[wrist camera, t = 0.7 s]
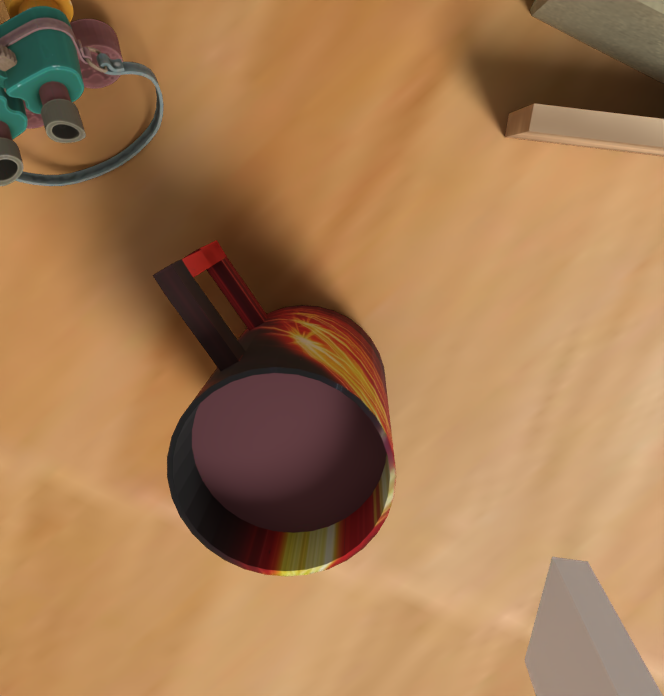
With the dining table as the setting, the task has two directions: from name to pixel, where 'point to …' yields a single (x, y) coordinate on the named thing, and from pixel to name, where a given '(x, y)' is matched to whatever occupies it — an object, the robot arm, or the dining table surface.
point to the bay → (587, 129)
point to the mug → (279, 430)
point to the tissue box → (612, 28)
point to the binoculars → (57, 83)
